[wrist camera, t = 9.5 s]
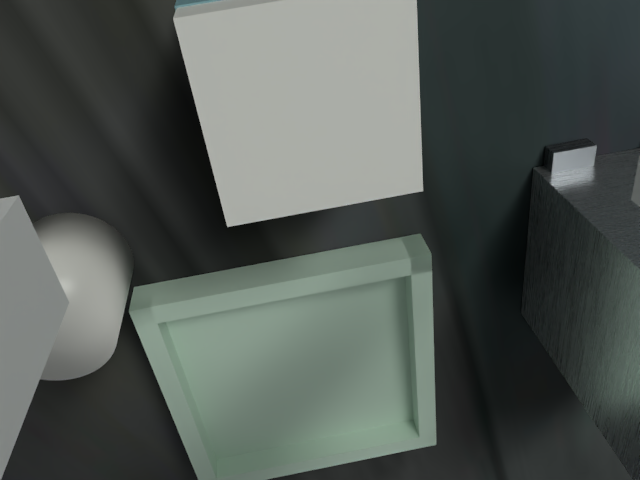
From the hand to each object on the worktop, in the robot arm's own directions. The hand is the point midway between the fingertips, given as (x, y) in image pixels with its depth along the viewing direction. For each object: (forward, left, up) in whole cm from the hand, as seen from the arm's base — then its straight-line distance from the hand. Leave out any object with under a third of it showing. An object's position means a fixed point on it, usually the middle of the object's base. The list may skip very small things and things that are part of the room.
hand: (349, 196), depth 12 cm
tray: (-2, -17, -12) cm, 21 cm away
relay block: (0, 0, -12) cm, 12 cm away
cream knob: (-11, -8, -12) cm, 18 cm away
